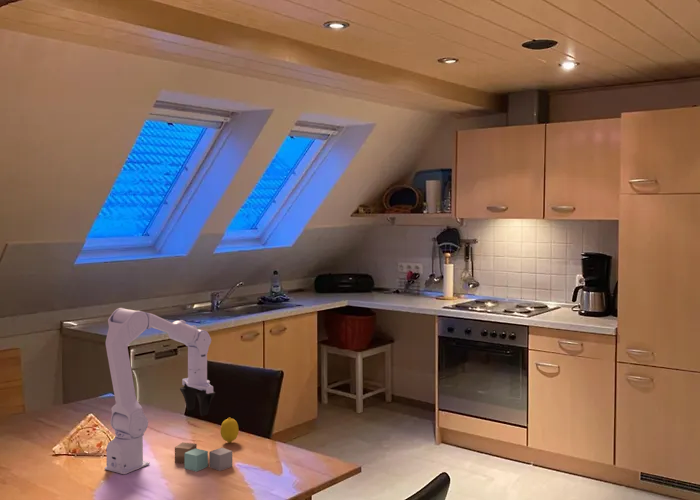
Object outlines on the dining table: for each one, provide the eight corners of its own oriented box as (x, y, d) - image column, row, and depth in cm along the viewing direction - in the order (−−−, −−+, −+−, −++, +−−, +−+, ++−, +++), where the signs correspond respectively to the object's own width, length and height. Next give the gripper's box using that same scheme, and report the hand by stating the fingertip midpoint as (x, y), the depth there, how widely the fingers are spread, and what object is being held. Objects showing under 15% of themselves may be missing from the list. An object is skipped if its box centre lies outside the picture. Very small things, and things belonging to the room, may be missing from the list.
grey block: (219, 471, 192) (219, 455, 192) (209, 467, 195) (209, 451, 194) (232, 466, 195) (232, 451, 195) (222, 463, 198) (222, 447, 198)
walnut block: (189, 464, 197) (189, 448, 196) (174, 462, 198) (174, 447, 198) (196, 459, 201) (196, 443, 201) (182, 457, 202) (182, 442, 202)
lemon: (234, 446, 212) (234, 420, 211) (217, 445, 213) (217, 419, 213) (241, 440, 217) (241, 415, 217) (224, 439, 218) (224, 414, 218)
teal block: (196, 472, 191) (196, 455, 191) (184, 468, 193) (184, 452, 193) (207, 466, 195) (207, 451, 195) (195, 463, 197) (195, 448, 197)
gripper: (221, 370, 210) (221, 414, 210) (196, 362, 220) (196, 405, 221) (201, 373, 205) (201, 419, 206) (176, 365, 215) (176, 409, 216)
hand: (197, 412), depth 213 cm, fingers open, 7 cm apart
